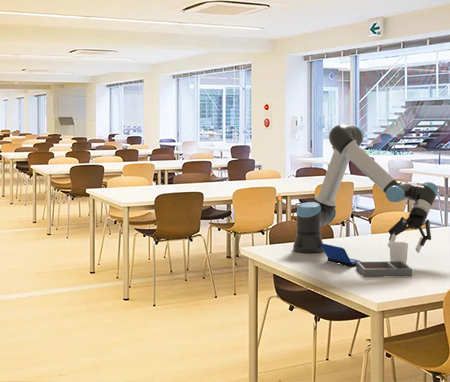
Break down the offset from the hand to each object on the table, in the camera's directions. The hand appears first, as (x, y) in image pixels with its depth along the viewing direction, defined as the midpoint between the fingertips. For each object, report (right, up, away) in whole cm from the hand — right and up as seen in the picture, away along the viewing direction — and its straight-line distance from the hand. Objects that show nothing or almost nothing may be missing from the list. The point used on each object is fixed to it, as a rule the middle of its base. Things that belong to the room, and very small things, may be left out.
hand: (402, 249), depth 295 cm
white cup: (-2, -8, 0) cm, 8 cm away
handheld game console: (-26, -7, +5) cm, 27 cm away
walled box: (-12, -9, -13) cm, 20 cm away
